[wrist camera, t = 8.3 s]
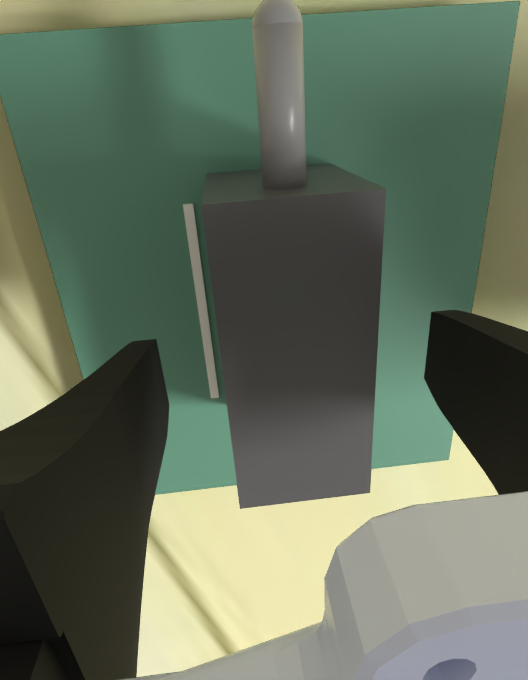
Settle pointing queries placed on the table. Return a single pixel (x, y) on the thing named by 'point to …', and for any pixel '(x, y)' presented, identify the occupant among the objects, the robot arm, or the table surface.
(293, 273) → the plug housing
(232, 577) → the table surface
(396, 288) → the header board
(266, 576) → the table surface
